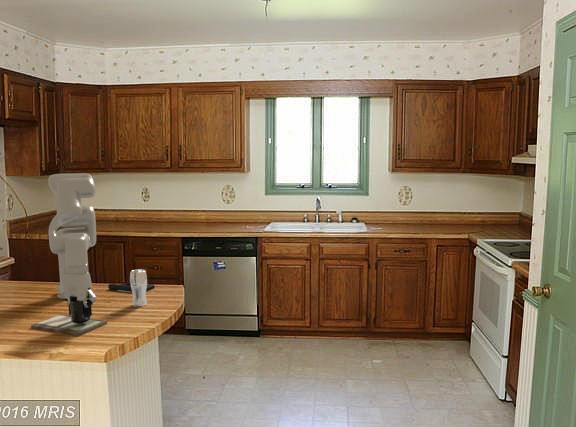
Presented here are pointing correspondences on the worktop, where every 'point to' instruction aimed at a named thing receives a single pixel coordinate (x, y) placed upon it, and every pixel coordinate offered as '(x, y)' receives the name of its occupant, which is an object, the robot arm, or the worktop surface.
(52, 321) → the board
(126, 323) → the worktop surface
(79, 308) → the supplement container
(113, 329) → the worktop surface
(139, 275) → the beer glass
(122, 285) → the door handle
